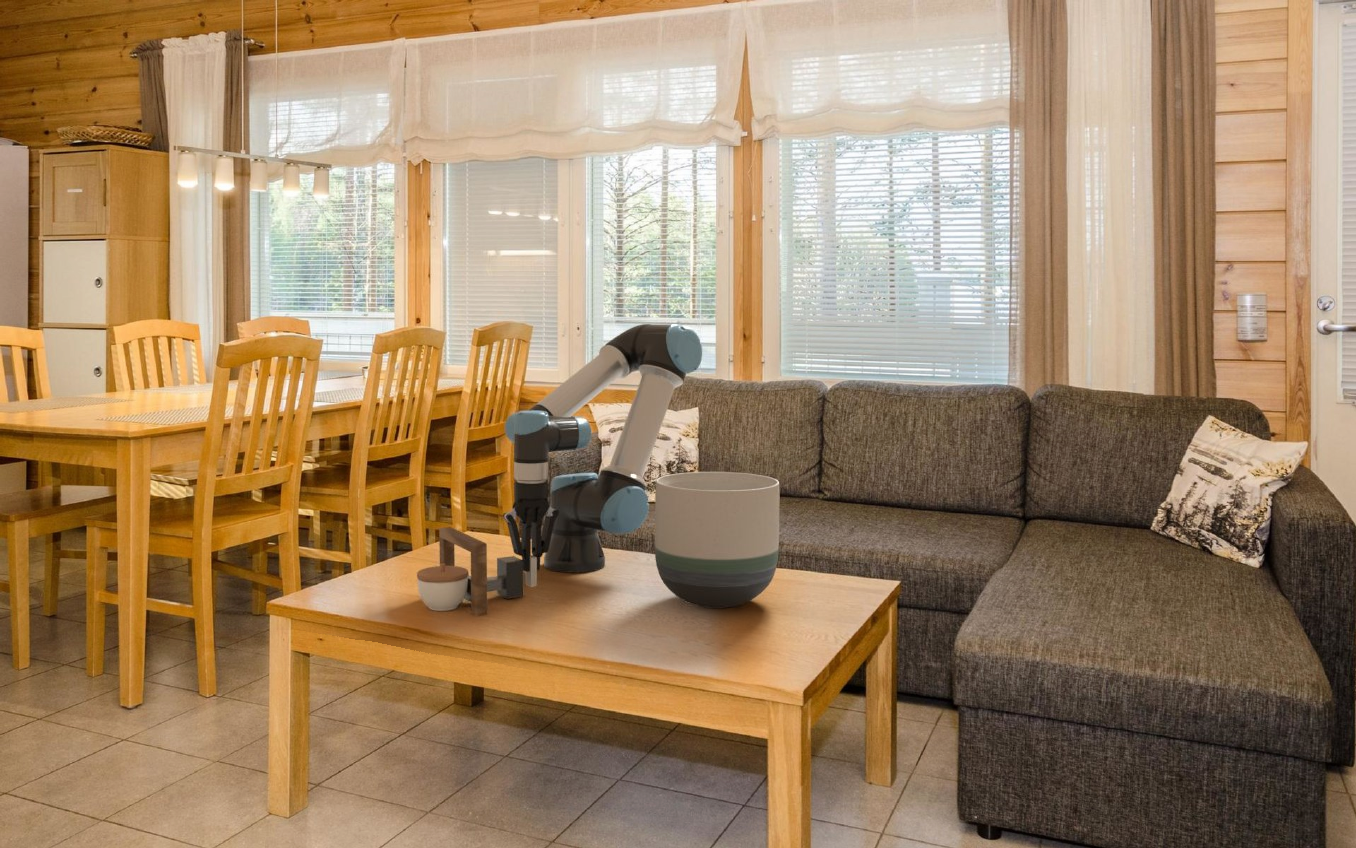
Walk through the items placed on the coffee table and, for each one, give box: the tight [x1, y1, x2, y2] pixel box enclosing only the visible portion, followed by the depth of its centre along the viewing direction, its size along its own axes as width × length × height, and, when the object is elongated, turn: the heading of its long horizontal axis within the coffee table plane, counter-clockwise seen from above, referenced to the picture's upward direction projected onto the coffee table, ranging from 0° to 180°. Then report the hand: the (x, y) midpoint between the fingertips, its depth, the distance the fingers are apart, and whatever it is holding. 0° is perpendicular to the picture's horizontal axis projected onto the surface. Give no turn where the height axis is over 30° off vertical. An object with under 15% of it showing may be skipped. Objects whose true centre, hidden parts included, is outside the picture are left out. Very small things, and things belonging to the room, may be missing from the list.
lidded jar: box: [416, 563, 470, 612], centre depth 230 cm, size 11×11×9 cm
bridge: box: [438, 526, 488, 617], centre depth 233 cm, size 2×20×15 cm, turn 33°
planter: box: [654, 471, 780, 609], centre depth 235 cm, size 27×27×27 cm
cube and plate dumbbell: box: [464, 555, 524, 603], centre depth 237 cm, size 12×9×8 cm
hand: (531, 585), depth 242 cm, fingers closed
